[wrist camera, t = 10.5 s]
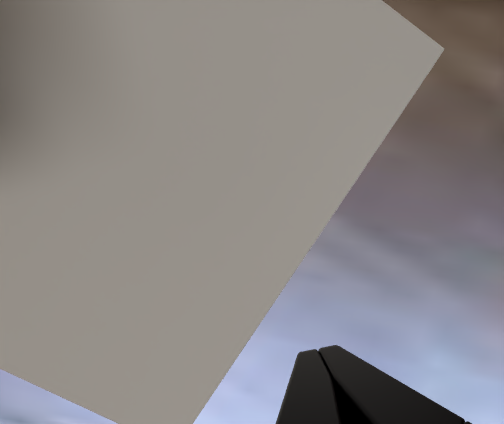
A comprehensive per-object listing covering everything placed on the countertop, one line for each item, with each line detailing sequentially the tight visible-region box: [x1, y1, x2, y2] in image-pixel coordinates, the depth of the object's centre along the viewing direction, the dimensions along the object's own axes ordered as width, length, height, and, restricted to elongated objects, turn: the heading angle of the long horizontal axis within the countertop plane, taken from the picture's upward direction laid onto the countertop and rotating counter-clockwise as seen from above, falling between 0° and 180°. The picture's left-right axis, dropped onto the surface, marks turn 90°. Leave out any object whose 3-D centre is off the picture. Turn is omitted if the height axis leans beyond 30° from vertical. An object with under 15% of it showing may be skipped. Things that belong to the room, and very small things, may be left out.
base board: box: [0, 0, 444, 424], centre depth 18 cm, size 23×25×1 cm
